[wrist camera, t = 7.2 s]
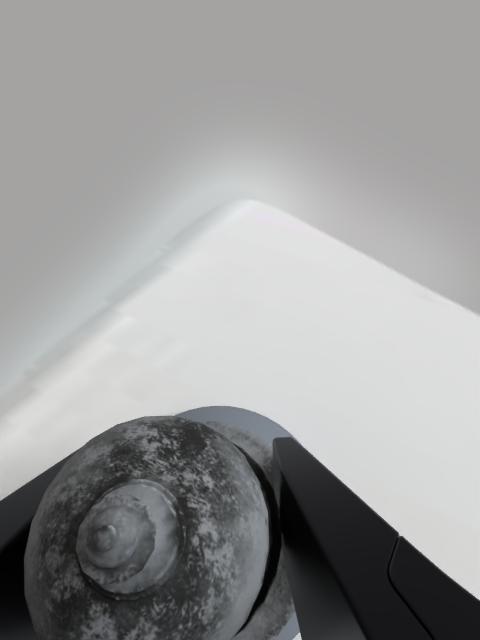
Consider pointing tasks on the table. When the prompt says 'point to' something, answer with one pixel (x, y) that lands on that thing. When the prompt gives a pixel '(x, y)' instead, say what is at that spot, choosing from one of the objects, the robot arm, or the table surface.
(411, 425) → the table surface
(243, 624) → the grey upright turned piece
